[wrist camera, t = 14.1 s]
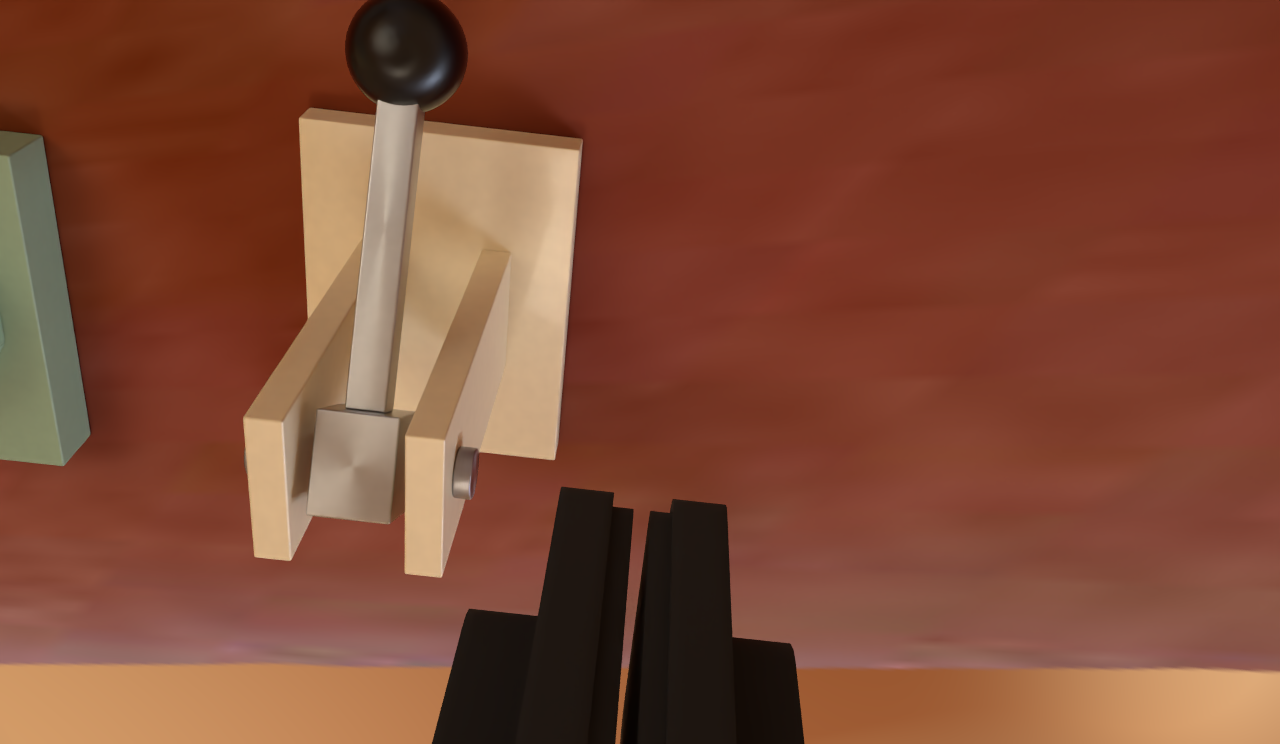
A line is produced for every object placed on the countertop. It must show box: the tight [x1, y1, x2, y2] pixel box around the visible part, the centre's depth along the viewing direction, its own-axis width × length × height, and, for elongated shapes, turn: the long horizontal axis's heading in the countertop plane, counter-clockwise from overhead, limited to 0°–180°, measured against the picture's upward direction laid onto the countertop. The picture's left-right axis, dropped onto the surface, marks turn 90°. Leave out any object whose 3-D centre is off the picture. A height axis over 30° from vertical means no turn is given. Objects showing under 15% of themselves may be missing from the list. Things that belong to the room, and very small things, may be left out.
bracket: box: [243, 108, 583, 577], centre depth 34 cm, size 12×9×13 cm
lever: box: [306, 0, 468, 524], centre depth 30 cm, size 14×3×3 cm
